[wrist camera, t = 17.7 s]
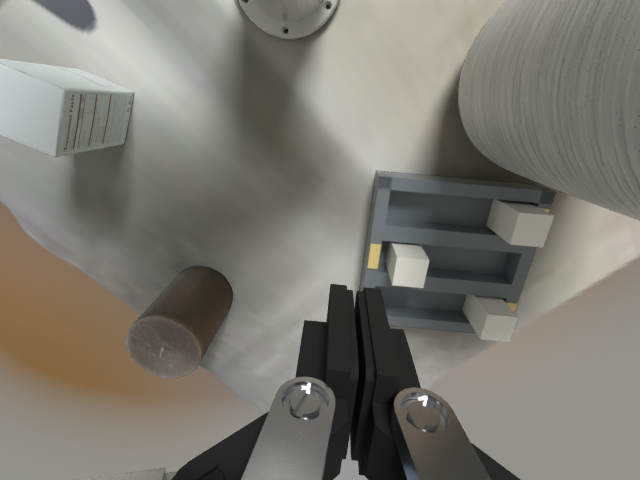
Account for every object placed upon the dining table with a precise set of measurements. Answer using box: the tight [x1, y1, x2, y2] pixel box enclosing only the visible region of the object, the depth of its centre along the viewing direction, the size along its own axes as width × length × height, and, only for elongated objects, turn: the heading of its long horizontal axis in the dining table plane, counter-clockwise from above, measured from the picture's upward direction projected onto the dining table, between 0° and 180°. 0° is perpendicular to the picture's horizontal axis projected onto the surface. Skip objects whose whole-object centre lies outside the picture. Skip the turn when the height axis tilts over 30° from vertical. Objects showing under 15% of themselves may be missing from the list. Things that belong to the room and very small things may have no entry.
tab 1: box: [462, 295, 518, 342], centre depth 48 cm, size 4×4×7 cm
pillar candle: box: [125, 266, 233, 378], centre depth 48 cm, size 10×10×15 cm
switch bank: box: [359, 171, 556, 333], centre depth 48 cm, size 22×22×4 cm
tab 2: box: [486, 199, 554, 247], centre depth 43 cm, size 4×4×7 cm
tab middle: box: [385, 241, 429, 288], centre depth 46 cm, size 4×4×7 cm
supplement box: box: [0, 59, 134, 157], centre depth 39 cm, size 7×7×13 cm
